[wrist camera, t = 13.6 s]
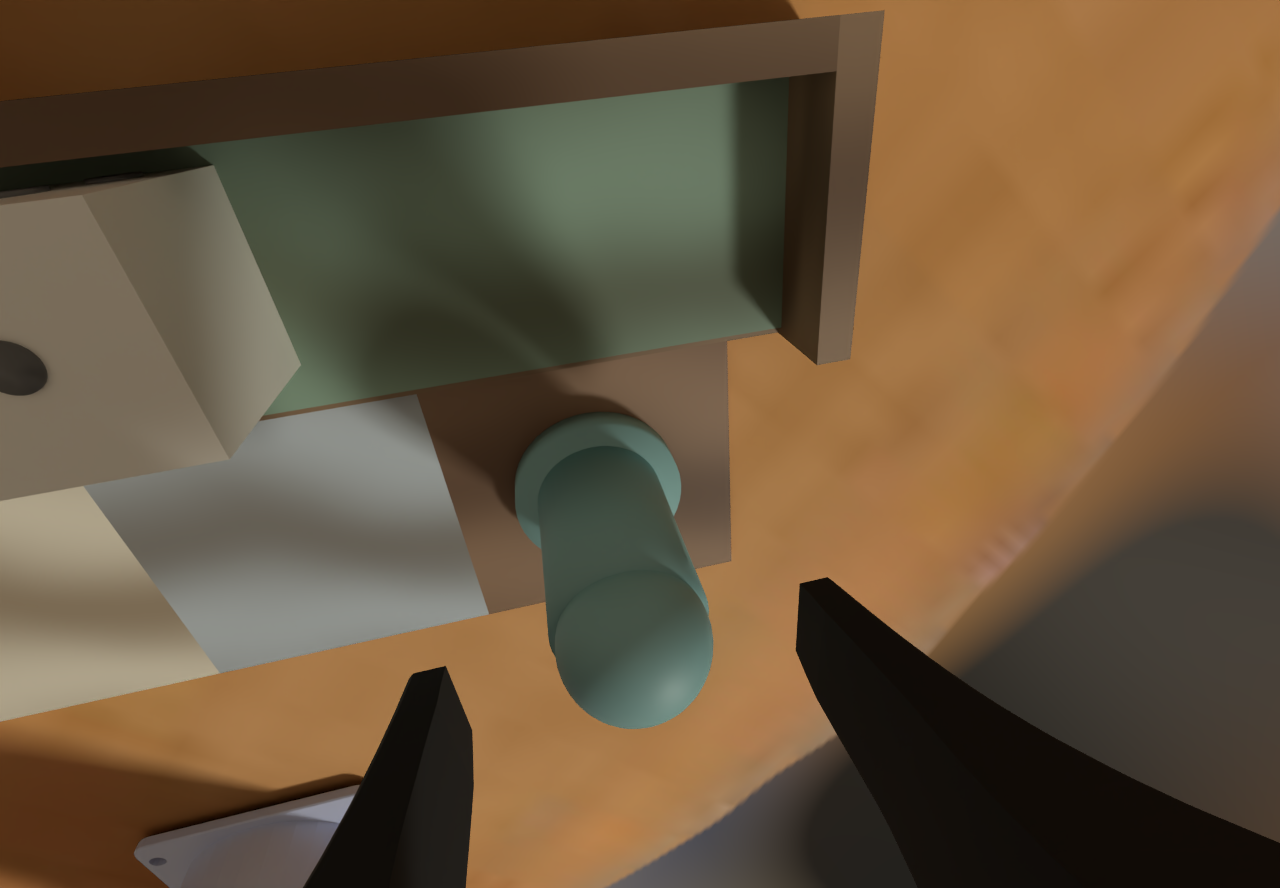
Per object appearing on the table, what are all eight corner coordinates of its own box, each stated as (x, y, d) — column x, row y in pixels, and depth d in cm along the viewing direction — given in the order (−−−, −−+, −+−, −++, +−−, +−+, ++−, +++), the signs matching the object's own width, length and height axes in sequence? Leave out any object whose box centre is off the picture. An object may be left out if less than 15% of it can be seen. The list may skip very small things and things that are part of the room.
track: (728, 555, 20) (731, 561, 19) (-73, 729, 17) (-82, 739, 17) (723, 329, 16) (726, 332, 15) (-344, 508, 13) (-361, 517, 12)
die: (300, 364, 13) (228, 461, 9) (99, 398, 12) (-56, 513, 9) (211, 160, 11) (75, 190, 7) (-36, 191, 10) (-308, 237, 7)
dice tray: (794, 317, 16) (850, 359, 13) (-237, 491, 13) (-418, 587, 10) (806, 28, 12) (884, 10, 10) (-581, 174, 10) (-972, 201, 7)
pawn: (679, 528, 18) (768, 752, 12) (531, 559, 18) (546, 809, 12) (668, 398, 16) (774, 593, 10) (498, 428, 15) (493, 655, 9)
